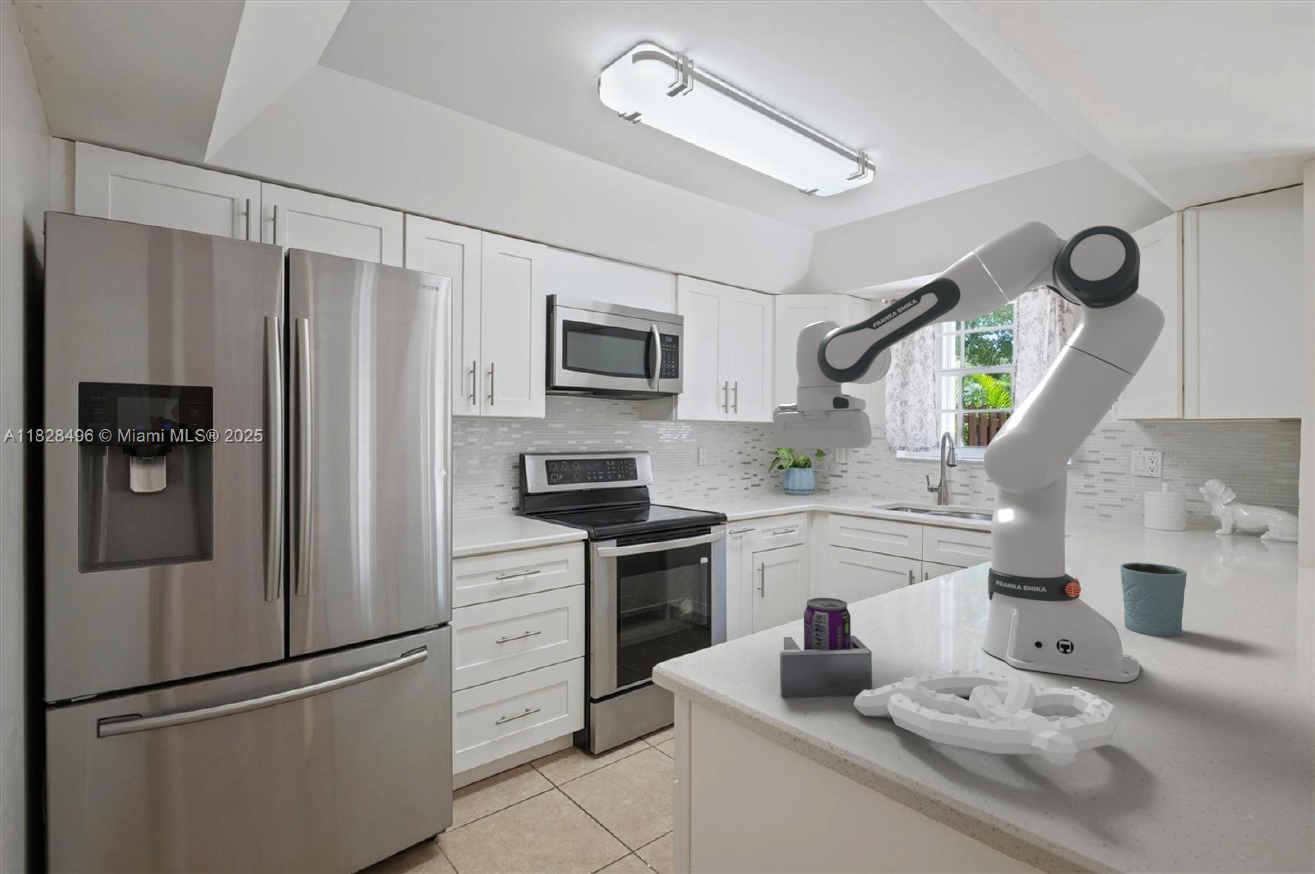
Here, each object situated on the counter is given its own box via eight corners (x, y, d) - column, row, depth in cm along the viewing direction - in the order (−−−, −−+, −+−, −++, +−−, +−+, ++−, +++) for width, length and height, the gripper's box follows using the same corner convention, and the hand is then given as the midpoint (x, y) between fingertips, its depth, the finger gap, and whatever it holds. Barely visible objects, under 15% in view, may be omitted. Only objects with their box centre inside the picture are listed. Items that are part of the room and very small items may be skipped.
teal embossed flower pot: (1163, 623, 126) (1162, 562, 126) (1201, 639, 116) (1201, 573, 116) (1108, 622, 127) (1108, 562, 127) (1142, 638, 117) (1141, 573, 117)
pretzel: (838, 731, 85) (834, 681, 86) (943, 696, 98) (938, 653, 99) (1061, 803, 62) (1052, 733, 63) (1160, 744, 75) (1152, 687, 76)
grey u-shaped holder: (769, 674, 101) (769, 633, 101) (854, 672, 102) (854, 631, 102) (782, 697, 93) (781, 652, 93) (875, 695, 93) (874, 650, 93)
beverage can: (860, 684, 97) (859, 606, 97) (818, 690, 95) (817, 610, 95) (835, 668, 104) (835, 595, 104) (796, 673, 102) (795, 598, 102)
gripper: (766, 404, 133) (767, 470, 133) (862, 399, 120) (863, 472, 120) (780, 405, 138) (781, 469, 138) (873, 400, 125) (875, 470, 125)
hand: (820, 470), depth 129 cm, fingers closed
